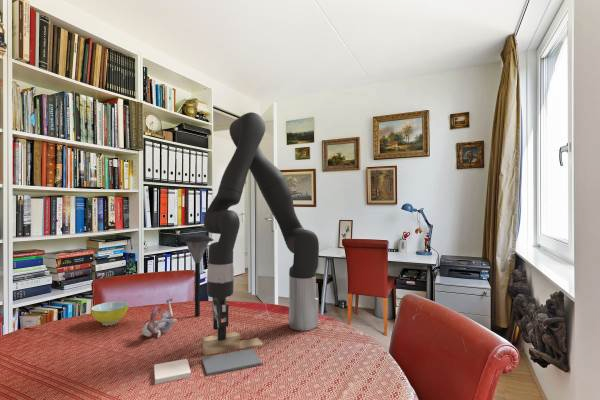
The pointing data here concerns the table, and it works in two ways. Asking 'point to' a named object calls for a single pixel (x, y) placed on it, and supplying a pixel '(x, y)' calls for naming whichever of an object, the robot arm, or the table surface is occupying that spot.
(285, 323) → the table surface
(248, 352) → the mat
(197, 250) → the solar garden light
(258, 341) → the beige wooden bar
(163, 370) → the tile
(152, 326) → the figurine
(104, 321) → the bowl
